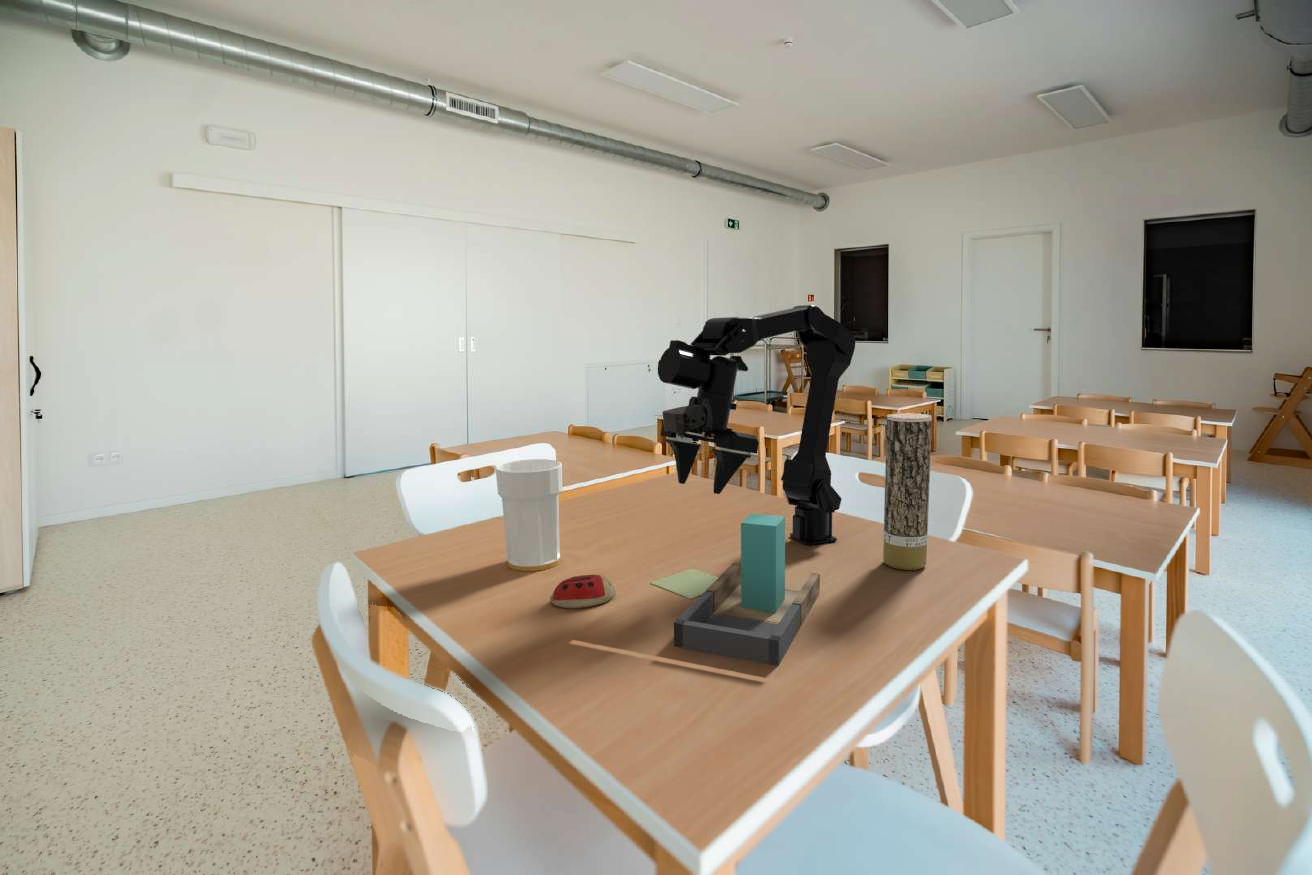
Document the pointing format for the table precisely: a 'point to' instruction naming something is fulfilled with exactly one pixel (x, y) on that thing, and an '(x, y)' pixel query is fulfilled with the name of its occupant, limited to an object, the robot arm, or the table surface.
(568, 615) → the table surface
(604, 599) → the ladybug figurine
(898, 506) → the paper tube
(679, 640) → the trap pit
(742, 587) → the teal block
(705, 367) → the robot arm
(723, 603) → the open channel
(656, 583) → the pad
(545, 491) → the cup
